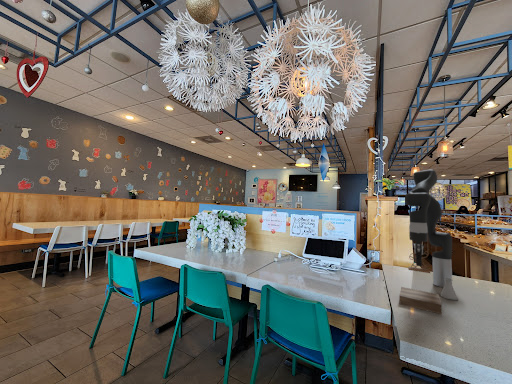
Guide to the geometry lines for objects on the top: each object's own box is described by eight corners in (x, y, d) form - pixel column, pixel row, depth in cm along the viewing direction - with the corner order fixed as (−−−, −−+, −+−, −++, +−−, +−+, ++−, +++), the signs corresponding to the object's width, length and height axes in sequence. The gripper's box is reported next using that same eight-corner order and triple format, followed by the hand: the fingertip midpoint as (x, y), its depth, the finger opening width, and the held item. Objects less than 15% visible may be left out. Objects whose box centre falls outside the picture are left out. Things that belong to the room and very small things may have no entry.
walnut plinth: (401, 294, 121) (401, 286, 121) (438, 302, 111) (438, 294, 112) (399, 303, 108) (399, 295, 108) (441, 314, 99) (441, 305, 99)
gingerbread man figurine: (408, 269, 112) (407, 246, 113) (408, 268, 115) (408, 245, 116) (430, 273, 107) (429, 248, 107) (430, 271, 110) (429, 247, 111)
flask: (461, 301, 114) (460, 281, 114) (445, 299, 115) (445, 280, 116) (452, 295, 121) (451, 277, 122) (437, 294, 122) (436, 276, 123)
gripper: (409, 229, 120) (410, 261, 119) (409, 231, 109) (409, 267, 108) (426, 231, 115) (427, 264, 114) (428, 233, 105) (428, 270, 103)
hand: (418, 265), depth 111 cm, fingers closed on gingerbread man figurine, 1 cm apart
